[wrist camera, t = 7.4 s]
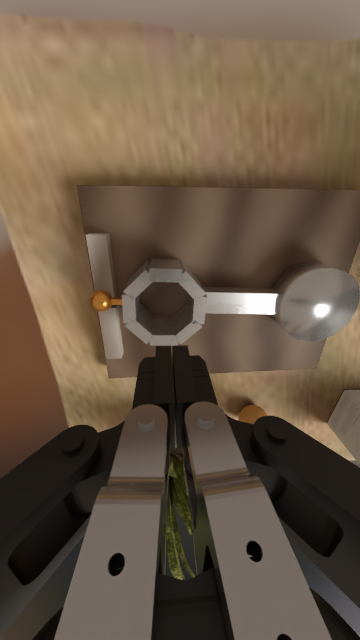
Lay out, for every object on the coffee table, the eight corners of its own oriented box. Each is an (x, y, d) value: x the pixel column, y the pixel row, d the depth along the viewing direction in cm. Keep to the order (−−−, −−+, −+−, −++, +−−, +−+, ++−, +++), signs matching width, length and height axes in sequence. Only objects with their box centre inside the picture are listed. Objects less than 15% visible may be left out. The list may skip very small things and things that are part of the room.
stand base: (358, 192, 21) (390, 188, 18) (306, 358, 29) (323, 375, 26) (84, 187, 19) (70, 183, 16) (112, 367, 27) (106, 386, 24)
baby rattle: (346, 263, 22) (383, 273, 18) (322, 327, 25) (350, 347, 21) (92, 253, 19) (77, 262, 16) (100, 325, 22) (89, 347, 19)
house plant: (106, 452, 34) (66, 634, 20) (112, 382, 28) (63, 563, 14) (196, 456, 36) (221, 622, 22) (219, 392, 31) (274, 557, 16)
